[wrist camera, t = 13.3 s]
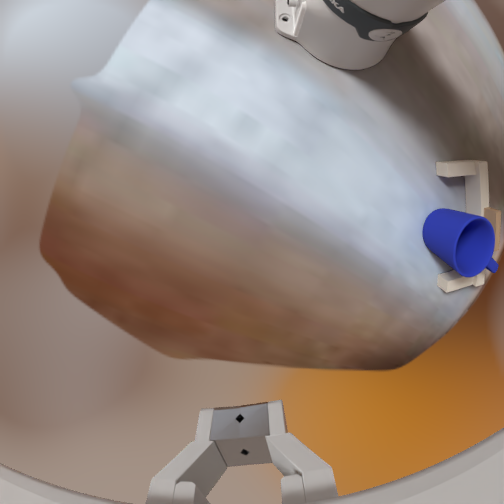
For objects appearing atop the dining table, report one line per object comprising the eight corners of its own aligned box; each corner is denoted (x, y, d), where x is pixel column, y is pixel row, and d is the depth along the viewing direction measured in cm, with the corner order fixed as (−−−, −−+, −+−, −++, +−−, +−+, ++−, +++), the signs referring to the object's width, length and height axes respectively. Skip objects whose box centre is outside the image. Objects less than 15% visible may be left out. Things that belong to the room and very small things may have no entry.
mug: (452, 272, 42) (487, 296, 33) (407, 239, 40) (443, 262, 31) (475, 230, 40) (513, 248, 30) (432, 192, 38) (473, 204, 29)
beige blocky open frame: (435, 162, 37) (463, 165, 30) (471, 159, 36) (500, 163, 30) (437, 285, 43) (459, 303, 36) (470, 275, 42) (494, 291, 36)
